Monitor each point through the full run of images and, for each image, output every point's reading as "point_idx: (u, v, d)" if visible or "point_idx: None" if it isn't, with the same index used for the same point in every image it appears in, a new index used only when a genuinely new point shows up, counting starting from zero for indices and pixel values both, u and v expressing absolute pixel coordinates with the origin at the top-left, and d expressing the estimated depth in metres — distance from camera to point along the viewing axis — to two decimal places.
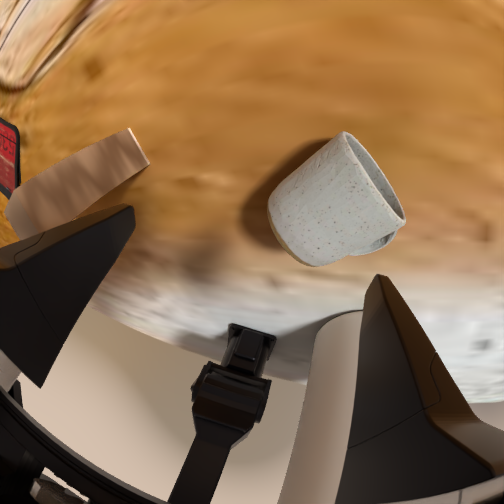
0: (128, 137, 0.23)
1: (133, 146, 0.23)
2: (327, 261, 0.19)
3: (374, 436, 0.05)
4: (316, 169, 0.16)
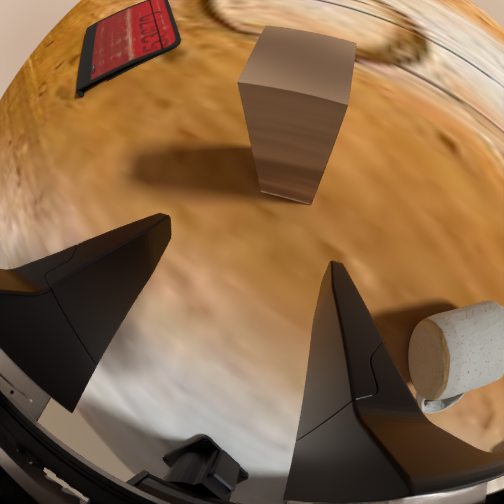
0: None
1: None
2: (455, 391, 0.14)
3: (315, 429, 0.05)
4: (483, 312, 0.15)
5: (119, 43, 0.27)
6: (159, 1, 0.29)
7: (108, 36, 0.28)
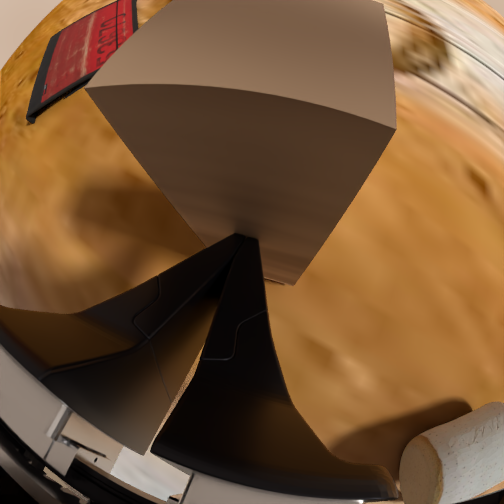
0: None
1: None
2: None
3: None
4: (495, 430, 0.09)
5: (74, 55, 0.21)
6: (126, 2, 0.23)
7: (66, 47, 0.22)
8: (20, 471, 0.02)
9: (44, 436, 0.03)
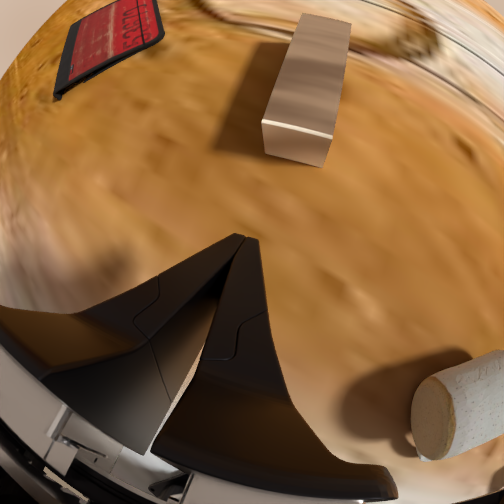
0: None
1: None
2: (456, 454, 0.10)
3: None
4: (498, 370, 0.11)
5: (100, 40, 0.23)
6: None
7: (89, 33, 0.24)
8: (20, 471, 0.02)
9: (44, 436, 0.03)
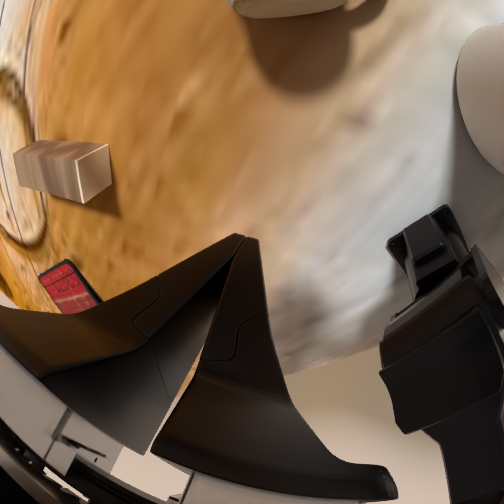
0: (96, 146, 0.22)
1: (89, 150, 0.22)
2: None
3: None
4: None
5: (79, 303, 0.43)
6: (43, 280, 0.45)
7: None
8: (20, 471, 0.02)
9: (44, 436, 0.03)
